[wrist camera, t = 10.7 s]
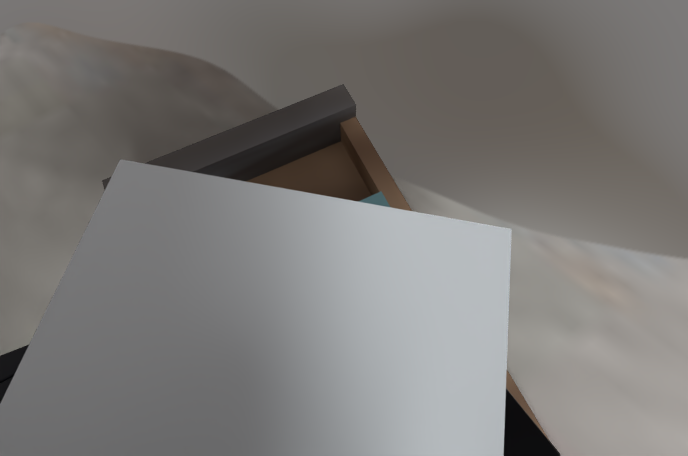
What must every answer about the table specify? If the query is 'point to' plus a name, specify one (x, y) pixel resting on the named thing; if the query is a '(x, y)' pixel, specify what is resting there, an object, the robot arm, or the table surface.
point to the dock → (303, 159)
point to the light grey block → (265, 329)
